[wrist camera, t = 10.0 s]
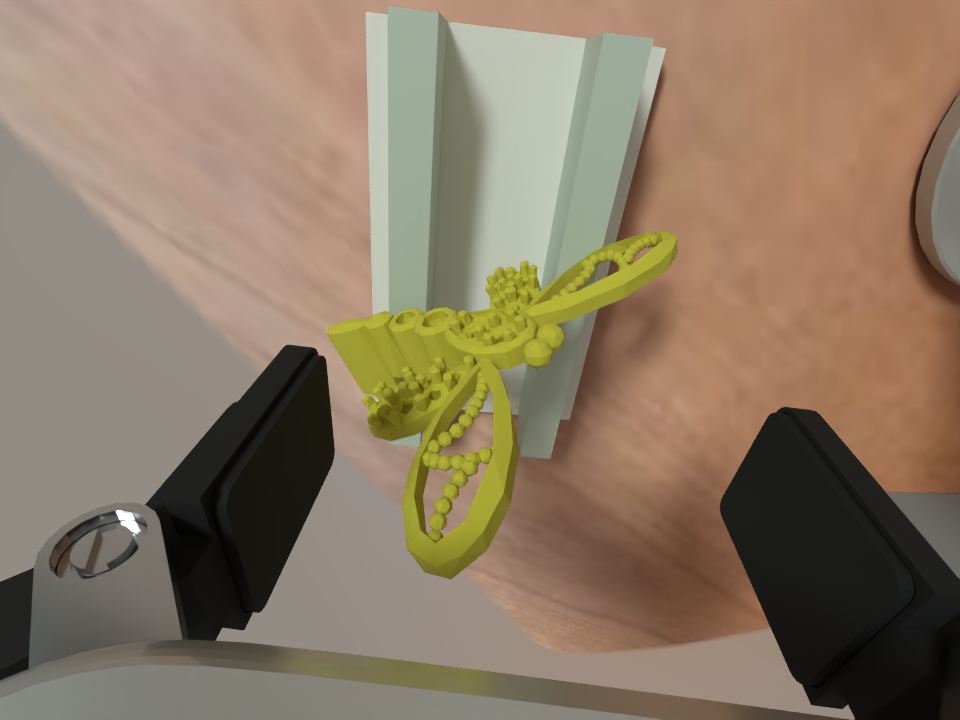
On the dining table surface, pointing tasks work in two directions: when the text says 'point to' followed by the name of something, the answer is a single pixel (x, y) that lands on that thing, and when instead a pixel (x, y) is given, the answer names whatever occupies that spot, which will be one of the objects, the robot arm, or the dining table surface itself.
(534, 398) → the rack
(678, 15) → the dining table surface
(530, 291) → the decorative insect
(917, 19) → the dining table surface
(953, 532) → the perfume bottle
